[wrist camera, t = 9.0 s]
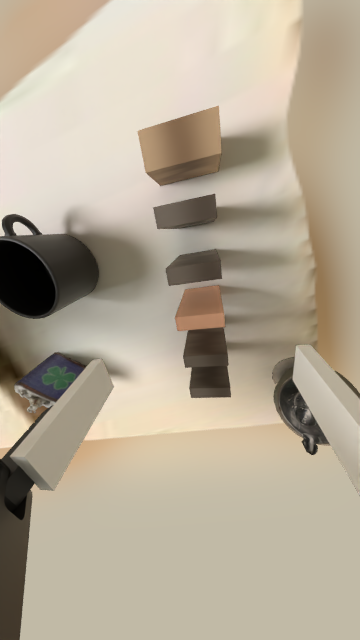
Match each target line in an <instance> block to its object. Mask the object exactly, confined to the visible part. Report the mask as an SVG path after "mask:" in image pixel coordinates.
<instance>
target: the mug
mask: <svg viewBox="0 0 360 640" xmlns="http://www.w3.org/2000/svg"><path fill="white" fill-rule="evenodd" d="M14 222H20V223H22V224H24V225H25V226H26V227H28V228H29V229H30V231H31V232H32V233H33V235H23V236H17V235H16V233H14V231H13V223H14ZM2 227H3V230H4V232H5V236H1V237H0V303H1V304H3V305H4V306H5V307H6V308H8V309H9V310H11V311H12V312H14V313H16V314H18V315H20V316H23V317H27V318H33V319H38V318H44V317H47V316H49V315H51V314H53V313H54V312H56V311H58V310H60V309H62V308H64V307H65V306H67V305H69V304H71V303H73V302H75V301H76V300H78V299H80V298H82V297H84V296H86V295H87V294H89V293H90V292H92V291H93V289H94V288H95V286H96V284H97V281H98V267H97V263H96V261H95V258H94V256H93V255H92V253H91V252H90V250H89V249H88V248H87V247H86V246H85V245H84V244H83V243H82V242H80V241H79V240H77V239H76V238H74V237H71V236H68V235H64V234H50V235H42V233H41V232H39V230H38V229H37V228H36V226H35V225H34V224H33V223H32V222H30V221H29V220H28V219H26V218H25V217H23V216H20V215H16V214H11V215H7V216H5V217H4V218H3V220H2Z"/></svg>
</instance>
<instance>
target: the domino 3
mask: <svg viewBox="0 0 360 640" xmlns="http://www.w3.org/2000/svg"><path fill="white" fill-rule="evenodd" d="M175 320H176V325H177V330H178V331H183V330H195V329H207V328H218V327H225V319H224V310H223V305H222V299H221V294H220V289H219V285H217V286H210V287H202V288H194V289H186V290H185V292H184V295H183V297H182V300H181V303H180V305H179V308H178V311H177V314H176V316H175Z"/></svg>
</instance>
